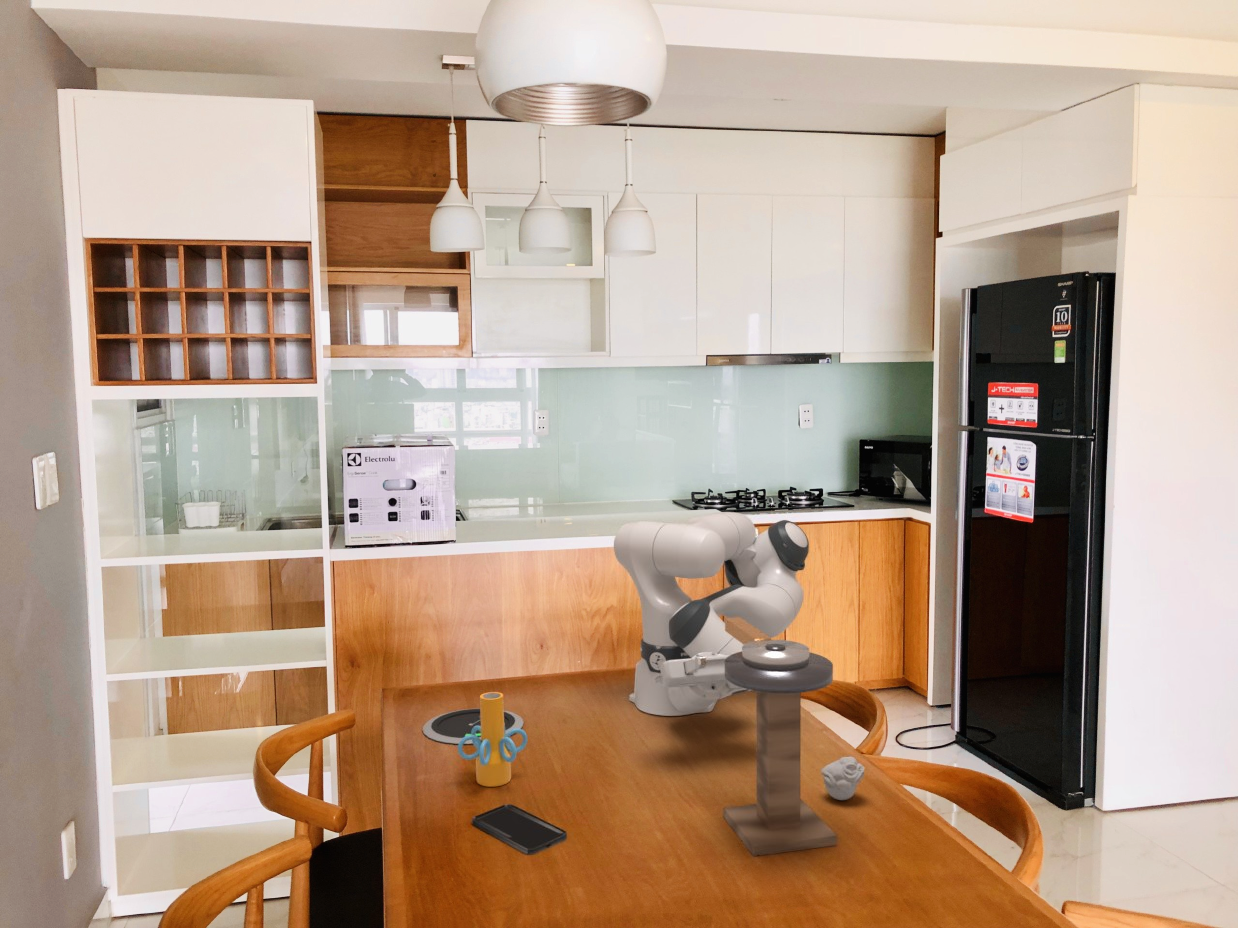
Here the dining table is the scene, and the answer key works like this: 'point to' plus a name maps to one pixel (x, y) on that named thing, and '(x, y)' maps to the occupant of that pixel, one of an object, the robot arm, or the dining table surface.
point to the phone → (519, 829)
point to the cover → (766, 648)
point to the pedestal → (779, 760)
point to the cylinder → (492, 743)
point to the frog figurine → (843, 777)
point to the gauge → (463, 725)
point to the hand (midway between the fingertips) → (728, 658)
